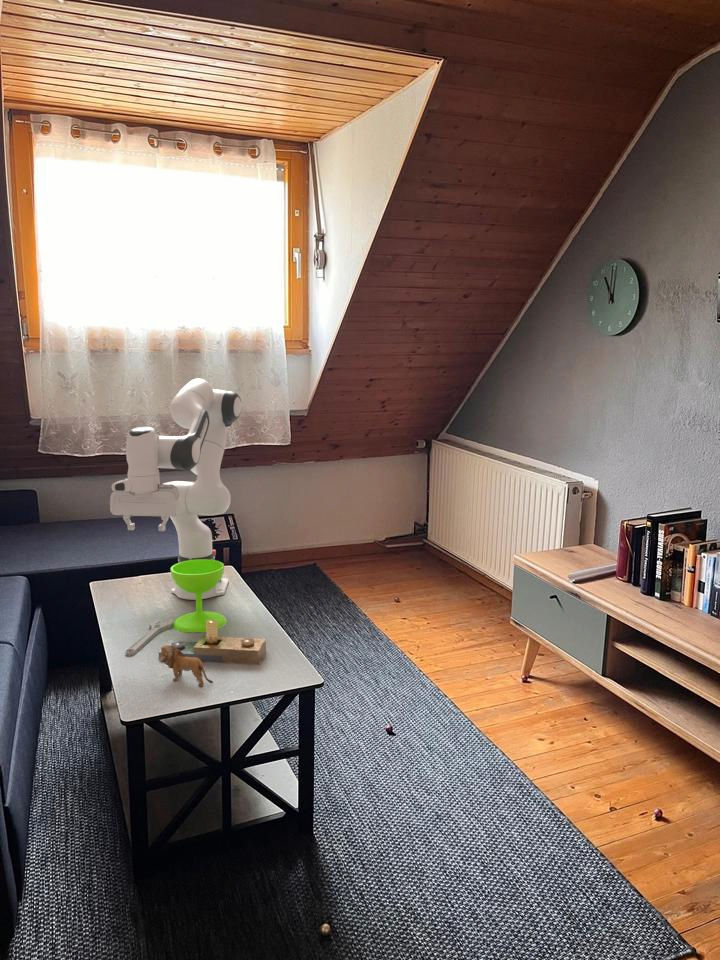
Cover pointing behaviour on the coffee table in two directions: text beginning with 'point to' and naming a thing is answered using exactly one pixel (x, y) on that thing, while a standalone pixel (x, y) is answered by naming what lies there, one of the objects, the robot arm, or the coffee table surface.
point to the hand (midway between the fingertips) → (146, 530)
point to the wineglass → (197, 591)
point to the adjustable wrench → (149, 635)
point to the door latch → (224, 650)
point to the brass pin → (212, 632)
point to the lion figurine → (182, 663)
